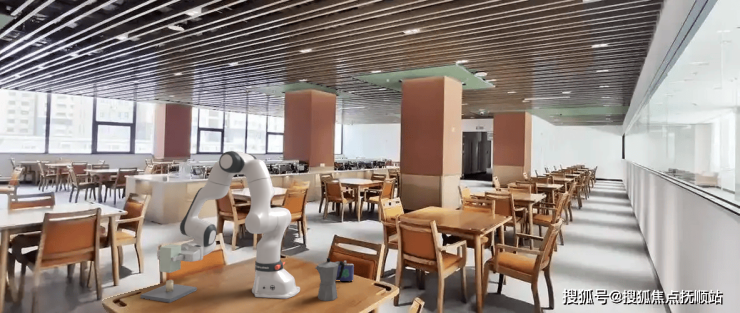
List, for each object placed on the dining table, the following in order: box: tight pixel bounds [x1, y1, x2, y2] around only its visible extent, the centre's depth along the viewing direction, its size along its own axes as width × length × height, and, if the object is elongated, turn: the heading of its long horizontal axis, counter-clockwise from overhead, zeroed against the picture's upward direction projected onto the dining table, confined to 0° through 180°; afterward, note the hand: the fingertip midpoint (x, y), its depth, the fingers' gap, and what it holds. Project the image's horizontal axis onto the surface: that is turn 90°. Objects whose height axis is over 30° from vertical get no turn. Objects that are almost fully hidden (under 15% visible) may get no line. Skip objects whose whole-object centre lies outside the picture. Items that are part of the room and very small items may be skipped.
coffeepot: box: [314, 257, 345, 302], centre depth 172 cm, size 15×9×18 cm, turn 127°
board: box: [139, 279, 198, 304], centre depth 171 cm, size 16×16×6 cm
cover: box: [159, 243, 182, 274], centre depth 171 cm, size 6×6×11 cm
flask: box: [335, 260, 355, 281], centre depth 194 cm, size 9×3×11 cm, turn 87°
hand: (165, 258), depth 168 cm, fingers closed on cover, 6 cm apart
